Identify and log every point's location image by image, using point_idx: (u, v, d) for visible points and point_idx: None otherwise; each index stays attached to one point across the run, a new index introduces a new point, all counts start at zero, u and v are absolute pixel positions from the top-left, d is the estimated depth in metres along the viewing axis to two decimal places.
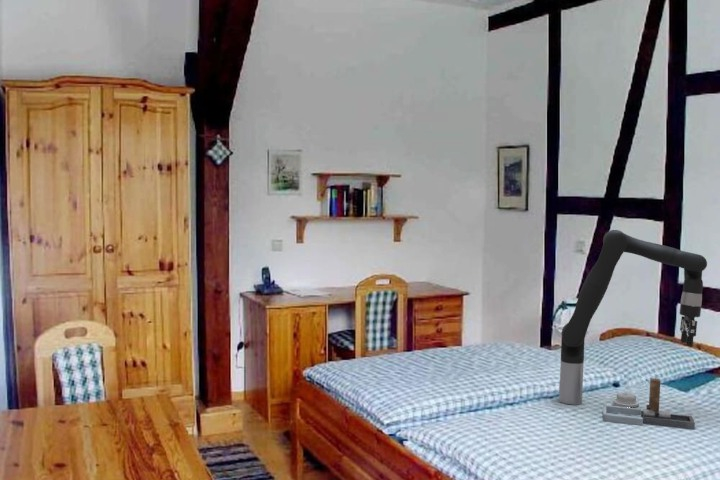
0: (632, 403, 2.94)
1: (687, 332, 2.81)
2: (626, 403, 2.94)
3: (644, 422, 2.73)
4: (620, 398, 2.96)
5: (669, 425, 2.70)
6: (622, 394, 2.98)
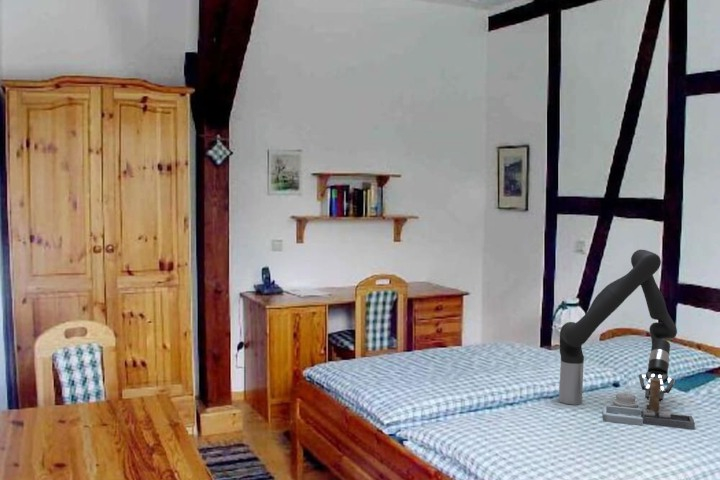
0: (631, 403, 2.94)
1: (662, 387, 2.84)
2: (625, 403, 2.94)
3: (644, 422, 2.73)
4: (619, 398, 2.95)
5: (669, 425, 2.70)
6: (621, 394, 2.98)
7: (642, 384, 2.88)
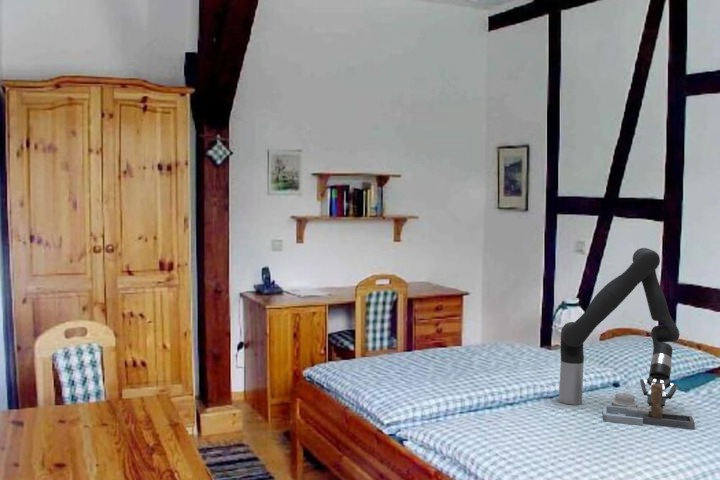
0: (631, 403, 2.94)
1: (664, 392, 2.75)
2: (625, 403, 2.93)
3: (644, 422, 2.73)
4: (619, 398, 2.95)
5: (669, 425, 2.70)
6: (621, 394, 2.97)
7: (644, 389, 2.78)
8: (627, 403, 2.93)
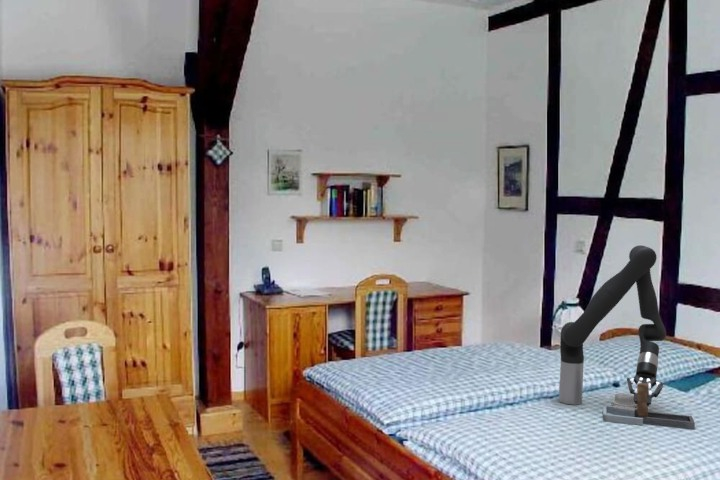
0: (630, 404, 2.93)
1: (650, 391, 2.76)
2: (624, 404, 2.93)
3: (644, 422, 2.73)
4: (618, 399, 2.95)
5: (669, 425, 2.70)
6: (620, 395, 2.97)
7: (630, 388, 2.80)
8: (627, 403, 2.93)
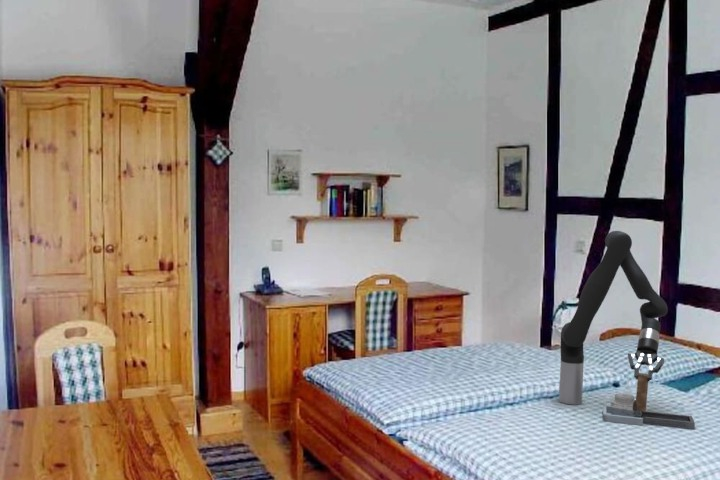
0: (630, 404, 2.93)
1: (651, 366, 2.76)
2: (624, 404, 2.93)
3: (644, 422, 2.73)
4: (618, 399, 2.95)
5: (669, 425, 2.70)
6: (620, 395, 2.97)
7: (631, 363, 2.79)
8: (627, 403, 2.93)
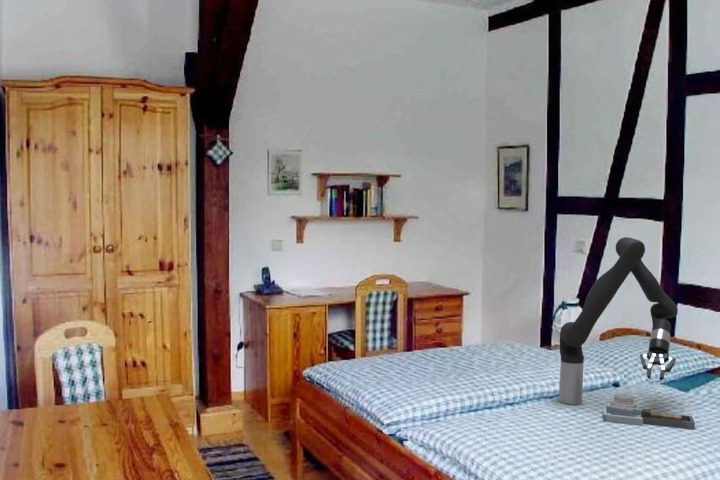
0: (630, 404, 2.93)
1: (663, 366, 2.84)
2: (624, 404, 2.93)
3: (644, 422, 2.73)
4: (618, 399, 2.95)
5: (669, 425, 2.70)
6: (620, 395, 2.97)
7: (643, 364, 2.87)
8: (626, 403, 2.93)
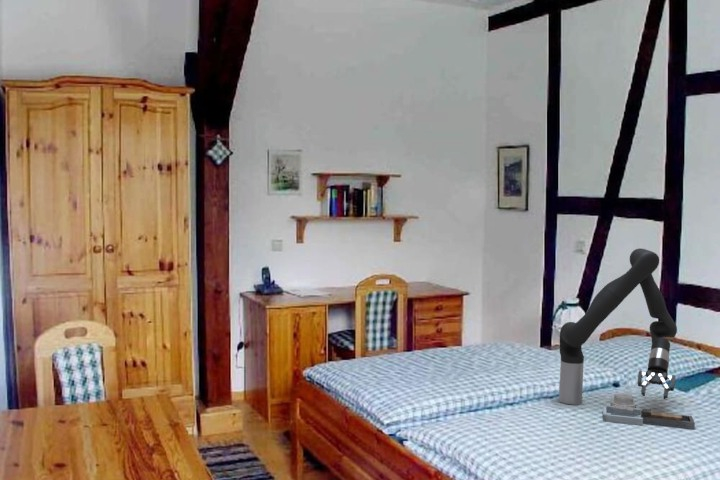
0: (630, 404, 2.93)
1: (666, 385, 2.84)
2: (624, 404, 2.93)
3: (644, 422, 2.73)
4: (618, 399, 2.95)
5: (669, 425, 2.70)
6: (620, 395, 2.97)
7: (638, 380, 2.89)
8: (626, 403, 2.93)
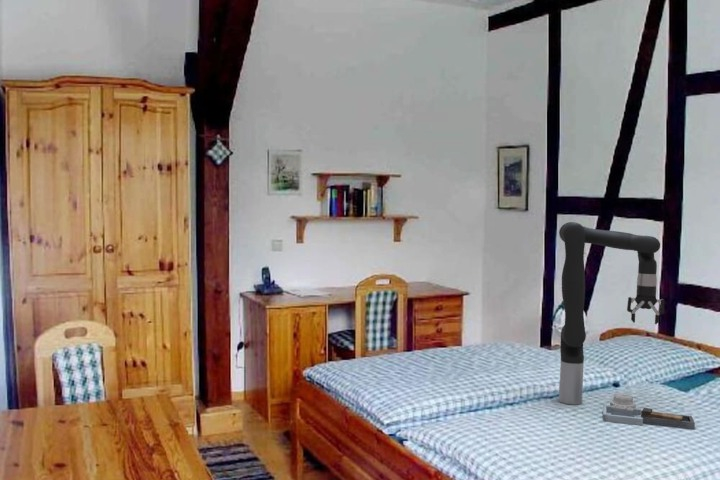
0: (629, 404, 2.93)
1: (657, 311, 2.94)
2: (623, 404, 2.93)
3: (644, 422, 2.73)
4: (617, 399, 2.94)
5: (669, 425, 2.70)
6: (619, 395, 2.96)
7: (628, 309, 2.97)
8: (625, 404, 2.93)
